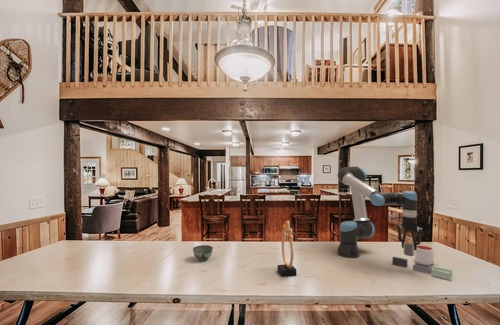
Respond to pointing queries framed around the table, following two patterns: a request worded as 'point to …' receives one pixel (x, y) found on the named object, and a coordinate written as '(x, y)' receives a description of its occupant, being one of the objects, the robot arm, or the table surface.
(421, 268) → the clip
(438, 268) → the end holder
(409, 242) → the orange tall block
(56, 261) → the table surface
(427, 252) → the cup
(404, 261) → the charcoal brick
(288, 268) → the loop sculpture
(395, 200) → the robot arm
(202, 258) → the bowl
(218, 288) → the table surface
